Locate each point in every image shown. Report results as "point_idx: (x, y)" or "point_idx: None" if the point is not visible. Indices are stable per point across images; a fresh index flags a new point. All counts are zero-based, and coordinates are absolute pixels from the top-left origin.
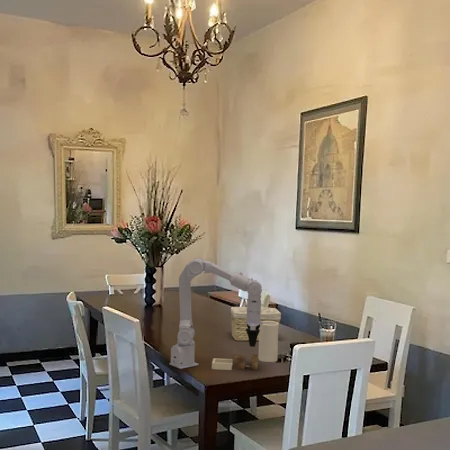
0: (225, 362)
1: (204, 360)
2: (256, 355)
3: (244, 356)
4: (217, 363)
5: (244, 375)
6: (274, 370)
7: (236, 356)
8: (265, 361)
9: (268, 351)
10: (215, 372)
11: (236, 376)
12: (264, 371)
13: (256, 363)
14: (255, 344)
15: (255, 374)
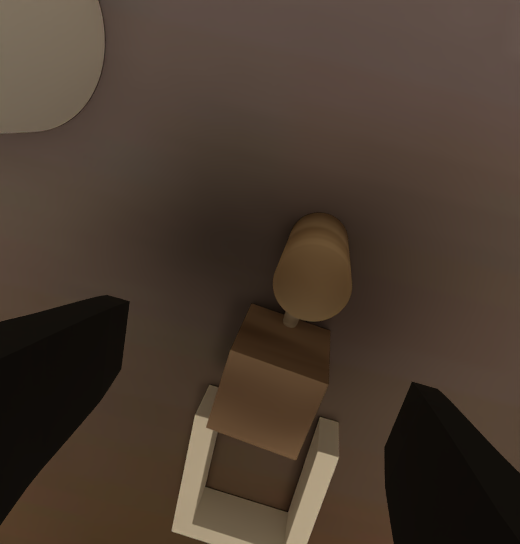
0: (211, 449)
1: (100, 517)
2: (324, 267)
3: (255, 364)
4: (307, 540)
5: (499, 367)
6: (398, 46)
7: (251, 433)
8: (98, 78)
9: (35, 29)
10: (379, 527)
11: (510, 429)
12: (415, 165)
13: (346, 245)
14: (456, 408)
15: (493, 272)
